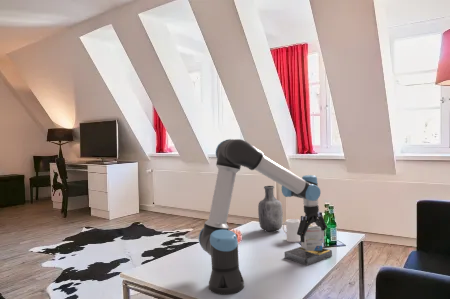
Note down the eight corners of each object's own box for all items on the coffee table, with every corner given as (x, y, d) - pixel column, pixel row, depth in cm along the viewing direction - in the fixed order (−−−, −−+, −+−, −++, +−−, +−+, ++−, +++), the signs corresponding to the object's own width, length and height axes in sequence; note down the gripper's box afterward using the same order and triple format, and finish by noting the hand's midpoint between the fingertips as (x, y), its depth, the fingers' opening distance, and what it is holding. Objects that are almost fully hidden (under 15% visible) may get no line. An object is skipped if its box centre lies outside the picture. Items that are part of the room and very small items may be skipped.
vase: (268, 235, 219) (266, 189, 218) (254, 230, 233) (252, 186, 232) (288, 231, 227) (286, 186, 226) (273, 226, 241) (271, 183, 240)
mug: (279, 239, 211) (278, 219, 210) (289, 236, 216) (287, 217, 216) (294, 243, 201) (293, 223, 201) (304, 239, 207) (302, 220, 206)
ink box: (320, 247, 182) (319, 225, 182) (322, 250, 177) (321, 228, 177) (304, 248, 183) (303, 226, 183) (305, 251, 178) (304, 228, 178)
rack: (306, 265, 166) (306, 258, 166) (284, 257, 179) (284, 251, 179) (332, 256, 177) (331, 249, 177) (309, 249, 189) (309, 243, 189)
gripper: (299, 210, 169) (301, 252, 170) (332, 202, 183) (334, 241, 184) (288, 207, 175) (290, 248, 176) (321, 200, 189) (323, 238, 190)
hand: (313, 245), depth 180 cm, fingers open, 13 cm apart
